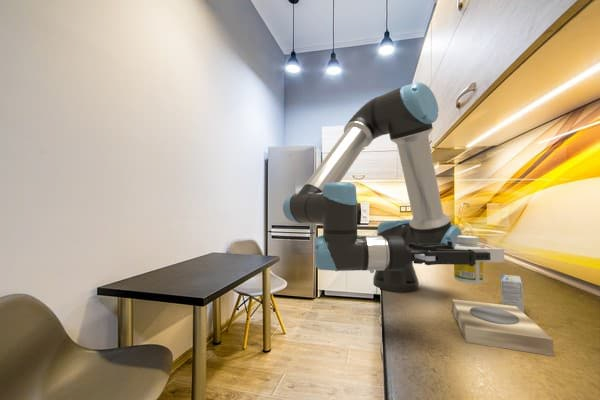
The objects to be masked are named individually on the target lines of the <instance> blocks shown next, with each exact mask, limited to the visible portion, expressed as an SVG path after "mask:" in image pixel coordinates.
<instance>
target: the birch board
mask: <svg viewBox="0 0 600 400" xmlns="http://www.w3.org/2000/svg"><path fill="white" fill-rule="evenodd" d="M451 309H452V310H451V311H452V313H453V315H454V318H455V320H456V322H457V324H458V326H459V328H460V331H461V333H462V336H463V338H464V340H465V342H466V343H469V344H475V345H480V346H481V345H482V346H488V347H495V348H501V349H506V350H515V351H521V352H528V353H533V354H540V355H547V356H553V357H554V356H555V355H554V353H555V352H554V350H555V349H554V339H553V338H552V336H550V335H549V334H548V333H546V332H545V331H544V330H543V329H542V328H541V327H540V326H539V325H537V324H536V323H535V321H533V320H532V319H531V318H530V317H528V316H527V315H526V313H525V312H524V313H523V312H522V311H521V310H520V309H519V308H517V307H516V306H509V305H502V304H499V303H498V304H497V303H488V302H480V301H469V300H460V299H451Z"/></svg>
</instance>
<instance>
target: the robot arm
mask: <svg viewBox="0 0 600 400" xmlns="http://www.w3.org/2000/svg"><path fill="white" fill-rule="evenodd" d="M438 118H439V105H438V102H437V98H436V95H435V94H434V92H433V91H432V89H431V88H430V87H429V86H428V85H427V84H426V83H423V82H419V81H417V82H414V83H410V84H407V85H404V86H401V87H399V88H396V89H394V90H392V91H391V90H390V91H389V92H387V93H384V94H381V95H380V96H376V97H374V98H372V99H370V100H369V101H368V102H366V103H365V104H364V105H363V106H362V107H361V108H359V109H358V111H356V113H354V114H353V116H352V117H351V118H350V119H349V121H348V122H347V123H346V125H345V126H344V127H343V133H342V135H341V136H340V138H339V139H338V140H337V142H336V143H335V145H334V146H333V147H332V148H331V149H330V151H329V152H328V154H327V155H326V156H325V158H324V159H323V160H322V162H321V163H320V164H319V165H318V167H316V169H315V171H314V172H313V173H312V175H311V176H310V178H309V179H307V181H306V182H305V184H304V185H303V187H302V188H301V189H300V190H299V191H298V193H294V194H291V195H289V196H287V197H286V198H285V199H284V201H283V205H282V212H283V215H284V217H286V219H288V220H289V221H290V222H293V223H294V222H295V223H297V224H317V225H318V224H319V225H320V224H321V225H322V226H323V227H322V231H323V232H322V235H319V236H316V237H315V238H314V265H315V267H316V269H318V270H319V271H332V272H333V271H335V272H344V271H346V272H347V271H349V272H350V271H353V272H354V271H369V273H371V274H374V275H373V279H372V280H373V283H372V284H373V286H375V287H377V289H381V290H385V291H389V292H397V293H398V292H399V293H404V292H405V293H407V292H415V291H417V290H419V288H420V287H419V285H420V284H419V278H418V277H417V273H416V270H415V268H414V264H415V265H416V264H417V265H421V264H424V265H426V266H434V265H436V266H437V265H454V264H456V265H470V266H474V265H475V264H476V262H483V263H505V248H501V247H500V248H498V247H496V248H495V247H494V248H492V247H491V248H490V247H489V248H488V247H487V248H486V246H485V245H486V244H483V243H482V244H481V243H478V244H477V246H479V247H481V248H475V249H468V250H460V249H454V247H455V246H456V245H459V243H458V242H457V236H463V234H462V230H461V229H460V227H459V226H457V225H455V224H453V225H452V221H451V217H450V216H449V215H446V214H445V213H444V210H443V206H442V200H441V195H440V189H439V185H438V179H437V175H436V174H437V173H436V169H435V164H434V159H433V158H434V157H433V154H432V149H431V145H430V139H429V135H430V133H431V132H432V131H433V129H434V128H433V127H434V126H433V124H434V122H436V121H437V119H438ZM384 135H385V136H386V135H389V139H390V141H391V142H392V143H394V144H396V145H397V151H398V155H399V161H400V163H401V168H402V173H403V178H404V181H405V187H406V191H407V192H406V193H407V196H408V200H409V204H410V211H411V214H412V218H411V219H401V220H398V219H397V220H391V221H390V220H389V221H382V222H380V223H379V224H378V225H377V233H376V234H377V235H361V236H360V235H358V199H357V187H356V184H354V183H353V182H346V181H345V182H343V181H342V180H343V179H344V177H345V176H346V174H347V173H348V171H349V170H350V168H351V166H352V165H353V164H354V162H355V161H356V160H357V158H358V156H359V155H360V153H361V152H362V150H364V148H366V147H368V146H370V145H371V144H372V142H373V140H376V139H377V138H379V137H382V136H384Z"/></svg>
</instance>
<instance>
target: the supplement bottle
mask: <svg viewBox="0 0 600 400" xmlns="http://www.w3.org/2000/svg"><path fill="white" fill-rule="evenodd" d="M479 238H480V237H479V236H475V235H462V236H457V242H458V243H459V245H456V246H455V247H454V249H460V250H468V249H475V248H481V247H479V246H477V244H480V241H479V240H480V239H479ZM453 271H454V272H453V273H454V274H453V277H454V279H455V280H456V281H458V282H461V283H465V284H472V285H473V284H475V285H477V284H481V283H483V281H484V262H476V264H475V265H474V266H470V265H456V264H453Z"/></svg>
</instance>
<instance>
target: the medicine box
mask: <svg viewBox="0 0 600 400" xmlns="http://www.w3.org/2000/svg"><path fill="white" fill-rule="evenodd" d="M500 279H501V280H500V289H501V293H500V295H501V305H509V306H516V307H517V308H519V309H520V310H521V311H522V312H523V313H524V314H525V311H524V289H523V280H522V278H521V276H520V275H511V274H501V278H500Z"/></svg>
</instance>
